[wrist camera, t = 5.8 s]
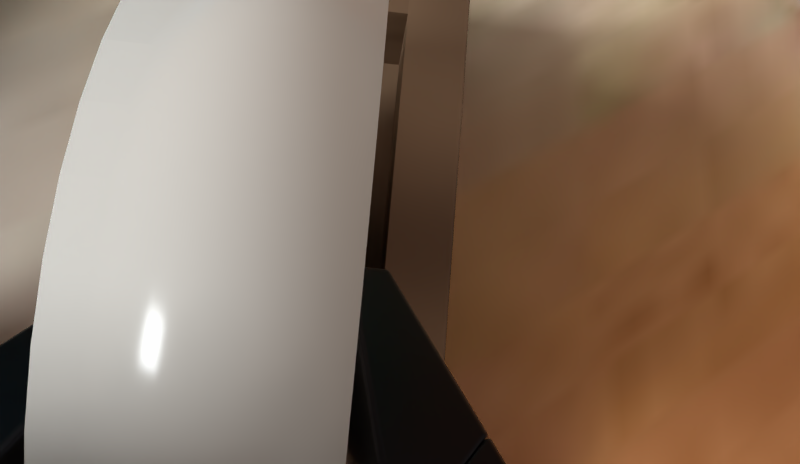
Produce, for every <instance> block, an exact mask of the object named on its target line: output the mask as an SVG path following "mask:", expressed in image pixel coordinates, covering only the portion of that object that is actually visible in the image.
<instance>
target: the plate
mask: <svg viewBox="0 0 800 464" xmlns="http://www.w3.org/2000/svg"><path fill="white" fill-rule="evenodd" d="M388 5H389V0H121V1H120V3H119V5H118V7H117V9H116V11H115V13H114V15H113V17H112V20H111V22H110V24H109V26H108V28H107V30H106V32H105V34H104V36H103V38H102V41H101V44H100V46H99V49H98V52H97V55H96V58H95V60H94V63H93V66H92V69H91V71H90V74H89V77H88V80H87V82H86V85H85V88H84V91H83V93H82V96H81V99H80V102H79V106H78V110H77V113H76V117H75V120H74V124H73V128H72V131H71V135H70V139H69V142H68V146H67V150H66V153H65V157H64V160H63V164H62V168H61V171H60V175H59V180H58V185H57V190H56V195H55V200H54V205H53V210H52V215H51V220H50V224H49V229H48V234H47V239H46V244H45V249H44V254H43V260H42V267H41V274H40V281H39V288H38V296H37V303H36V310H35V317H34V324H33V332H32V339H31V347H30V360H29V374H28V387H27V401H26V415H25V428H24V464H346V454H347V444H348V434H349V424H350V413H351V403H352V393H353V383H354V373H355V362H356V352H357V342H358V331H359V321H360V310H361V300H362V290H363V279H364V269H365V258H366V247H367V237H368V226H369V216H370V205H371V194H372V183H373V173H374V162H375V151H376V140H377V129H378V118H379V107H380V96H381V85H382V74H383V63H384V51H385V40H386V29H387V17H388Z"/></svg>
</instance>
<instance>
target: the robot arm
mask: <svg viewBox="0 0 800 464" xmlns="http://www.w3.org/2000/svg"><path fill="white" fill-rule="evenodd" d="M32 332H33V325H31V326H30V327H28V328H26V329H25V330H23V331H22V332H20V333H19V334H17V335H15V336H14V337H12V338H11V339H9V340H7V341H6V342H4V343H3V344H1V345H0V464H24V428H25V415H26V401H27V387H28V374H29V360H30V347H31V339H32ZM487 438H488V434H487V432H486V431H485V429H484V427H483V426H482V424H481V422H480V421H479V419H478V417H477V416H476V414H475V412H474V411H473V409H472V407H471V406H470V404H469V402H468V401H467V399H466V397H465V396H464V394H463V392H462V391H461V389H460V387H459V386H458V384H457V382H456V381H455V379H454V377H453V376H452V374H451V372H450V371H449V369H448V367H447V366H446V364H445V362H444V361H443V359H442V357H441V356H440V354H439V352H438V351H437V349H436V347H435V346H434V344H433V343H432V341H431V339H430V338H429V336H428V334H427V333H426V331H425V329H424V328H423V326H422V324H421V323H420V321H419V319H418V318H417V316H416V314H415V313H414V311H413V309H412V308H411V306H410V304H409V303H408V301H407V299H406V298H405V296H404V294H403V293H402V291H401V289H400V288H399V286H398V284H397V283H396V281H395V279H394V278H393V276H392V274H391V273H390V271H388V270H386V269H379V268H368V267H365V269H364V279H363V290H362V300H361V310H360V321H359V331H358V342H357V352H356V362H355V373H354V383H353V393H352V403H351V413H350V424H349V434H348V444H347V454H346V463H347V464H506V463H505V462H504V460H503V458H502V457H501V455H500V453H499V452H498V450H497V448H496V447H495V445H494V443H493V442H492V440H491V439H487Z"/></svg>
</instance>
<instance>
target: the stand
mask: <svg viewBox="0 0 800 464" xmlns="http://www.w3.org/2000/svg"><path fill="white" fill-rule="evenodd" d="M469 4H470V0H389V5H388V17H387V29H386V40H385V51H384V63H383V74H382V85H381V96H380V107H379V118H378V129H377V140H376V151H375V162H374V173H373V183H372V194H371V205H370V216H369V226H368V237H367V247H366V258H365V267H368V268H379V269H386V270H388V271H390V273H391V274H392V276H393V278H394V279H395V281H396V283H397V284H398V286H399V288H400V289H401V291H402V293H403V294H404V296H405V298H406V299H407V301H408V303H409V304H410V306H411V308H412V309H413V311H414V313H415V314H416V316H417V318H418V319H419V321H420V323H421V324H422V326H423V328H424V329H425V331H426V333H427V334H428V336H429V338H430V339H431V341H432V343H433V344H434V346H435V347H436V349H437V351H438V352H439V354H440V356H441V357H442V359H443V361H444V359H445V345H446V330H447V316H448V302H449V288H450V274H451V260H452V245H453V231H454V217H455V203H456V189H457V174H458V160H459V146H460V132H461V118H462V103H463V89H464V75H465V61H466V47H467V32H468V18H469ZM346 464H347V463H346Z"/></svg>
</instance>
